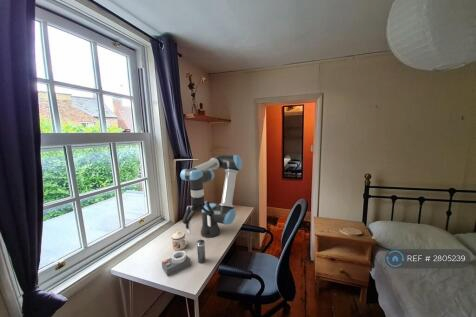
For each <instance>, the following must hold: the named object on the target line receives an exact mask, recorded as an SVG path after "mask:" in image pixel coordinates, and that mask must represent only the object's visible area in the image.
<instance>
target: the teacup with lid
mask: <svg viewBox="0 0 476 317" xmlns="http://www.w3.org/2000/svg"><path fill="white" fill-rule="evenodd" d="M185 236H186V234H185V232H183V231H180V230H177V231H176V232H174V233H173V234H172V235H171V241H172V249H173V250H174V251H183V249H185V247H186V246H187V245H188V244H189V243H188V242H189V241H188V239H186V237H185Z"/></svg>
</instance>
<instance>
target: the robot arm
mask: <svg viewBox="0 0 476 317" xmlns="http://www.w3.org/2000/svg"><path fill="white" fill-rule="evenodd" d="M242 168H243V159H242V157H241V156H240V155H239V154H220V155H216V156H213V157H211V158H210V159H209V160H208V161H205V162H203V163H201V164H198V165H196V166H194V167H191V168H189V169H188V168H183V169H182V170H181V172H180V174H179V176H180V178H181V180H183V181H186V182H188V181H189V184H190V186H189V187H190V196H191V197H190V200H191V201H190V202H191V205H187V206H186V210H185V212H184V215H183V218H182V221H181V222H182V223H183V225H185V229H186V231H187V233H188V234H189V235H191V234H192V231H191V223H190V222H191V220H192V219H193V216H194V215H195V214H196V213H198V212H201V222H202V224H201V225H202V226H201V229H200V235H201V237H204V238H209V239H210V238H214V237H217V236H219V234H220V232H221V229H220V226H219V224H223V225H231V224H232V223H233V222H234V221H235V218H236V215H237V213H236V210H235V208H234V204H233V202H234V201H233V200H234V194H235V186H236V178H237V174H238V173H239V171H241V170H242ZM217 169H221V170H222V169H223V170H224V172H225V177H224V183H223V189H222V194H221V195H222V196H221V202H220V203H219V204H218V206H217V203H213V202H211V203H210V201H208V200H205V196H204V195H205V193H204V191H205V190H204V184H206V183H208V182H211V181H213V179H214V178H215V172H214V171H213V170H217Z"/></svg>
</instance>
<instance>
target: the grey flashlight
mask: <svg viewBox="0 0 476 317" xmlns="http://www.w3.org/2000/svg"><path fill="white" fill-rule="evenodd" d="M205 245H206V243H205V239H198V240H197V241H196V249H197V250H196V251H197V262H198V264H204V263H206V261H207V260H206V246H205Z"/></svg>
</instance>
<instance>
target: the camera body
mask: <svg viewBox="0 0 476 317" xmlns="http://www.w3.org/2000/svg"><path fill="white" fill-rule="evenodd" d="M161 266H162V268H161V269H162V270H163V272H164V274H165V275H166V277H169V276H171V275H173V274H175V273H177V272H179V271H181V270H184V269H185V268H187V267H189V266H191V258H190V257H189V256H188V255H187V253H186V251H184V250H176V251H175V252H173V253H172V254H171V257H169V258H167V259H164V260H162V261H161Z"/></svg>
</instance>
